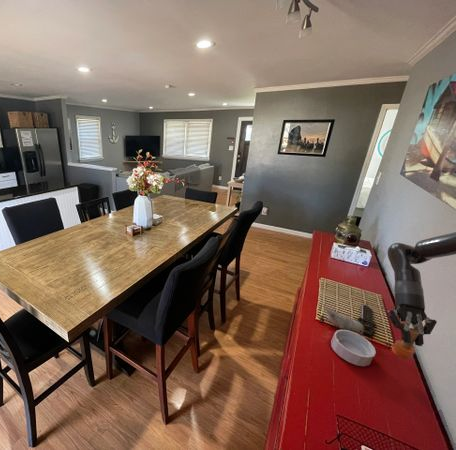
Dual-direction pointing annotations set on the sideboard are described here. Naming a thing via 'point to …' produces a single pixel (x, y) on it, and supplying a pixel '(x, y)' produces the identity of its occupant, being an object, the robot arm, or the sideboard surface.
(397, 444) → the sideboard surface
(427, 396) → the sideboard surface
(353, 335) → the bowl
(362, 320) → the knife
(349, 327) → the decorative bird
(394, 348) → the brush
